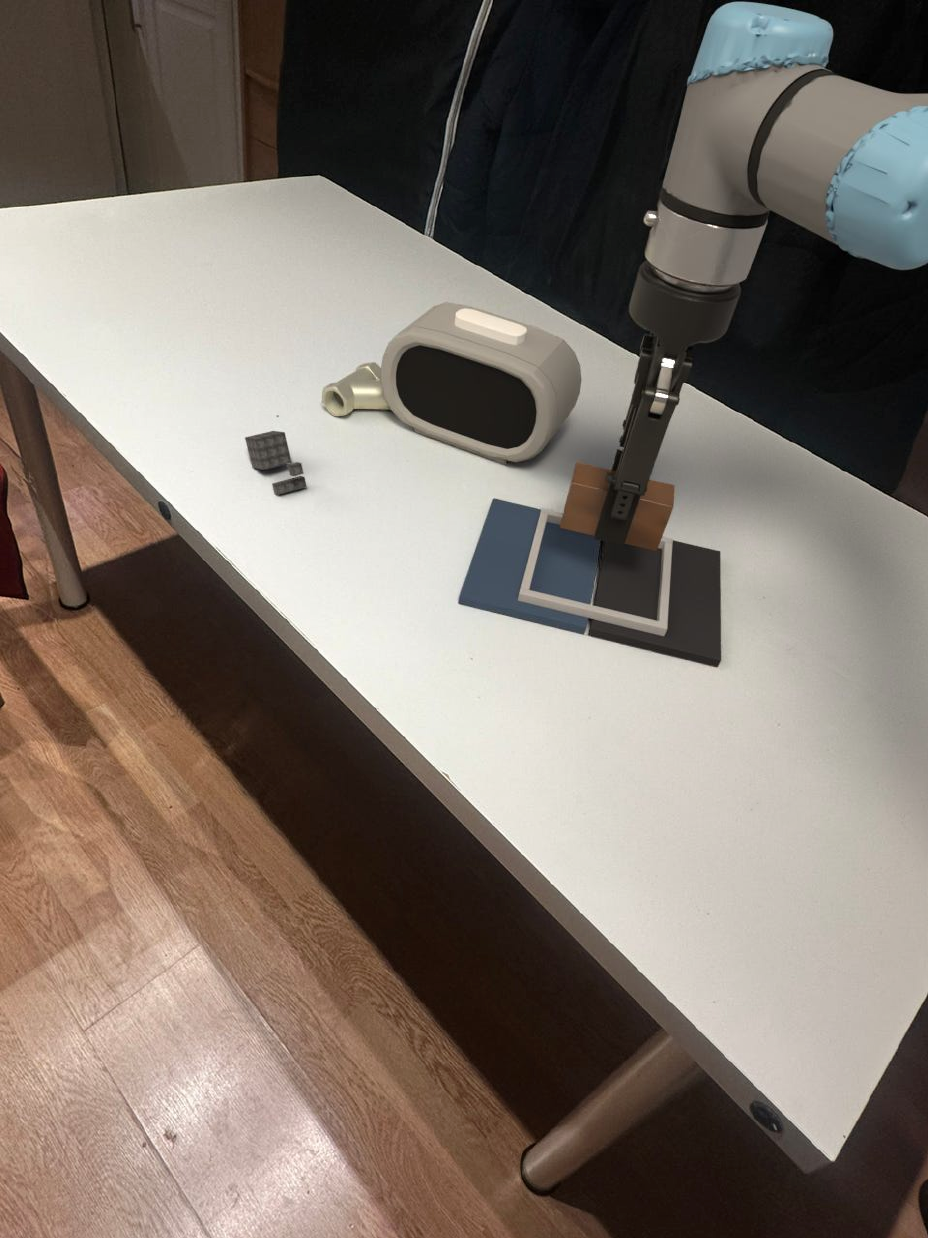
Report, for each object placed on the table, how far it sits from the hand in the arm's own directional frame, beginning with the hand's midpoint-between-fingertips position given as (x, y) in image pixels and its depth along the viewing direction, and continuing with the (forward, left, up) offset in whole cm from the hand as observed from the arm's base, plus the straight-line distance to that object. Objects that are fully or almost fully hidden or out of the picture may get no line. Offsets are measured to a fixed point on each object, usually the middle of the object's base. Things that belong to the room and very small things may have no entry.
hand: (611, 525), depth 75 cm
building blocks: (+34, -4, -7) cm, 35 cm away
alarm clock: (+17, -21, -7) cm, 28 cm away
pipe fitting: (+30, -21, -7) cm, 37 cm away
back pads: (0, 0, -7) cm, 7 cm away
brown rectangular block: (0, 0, 0) cm, 0 cm away
